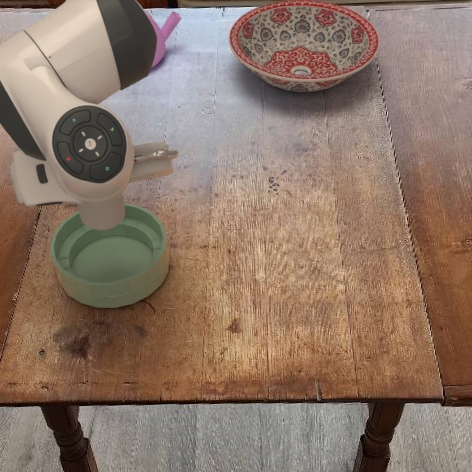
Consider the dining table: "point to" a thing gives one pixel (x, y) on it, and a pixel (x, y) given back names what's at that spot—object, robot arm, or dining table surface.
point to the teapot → (163, 34)
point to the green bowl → (111, 258)
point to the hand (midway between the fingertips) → (94, 179)
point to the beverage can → (103, 214)
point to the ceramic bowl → (303, 43)
